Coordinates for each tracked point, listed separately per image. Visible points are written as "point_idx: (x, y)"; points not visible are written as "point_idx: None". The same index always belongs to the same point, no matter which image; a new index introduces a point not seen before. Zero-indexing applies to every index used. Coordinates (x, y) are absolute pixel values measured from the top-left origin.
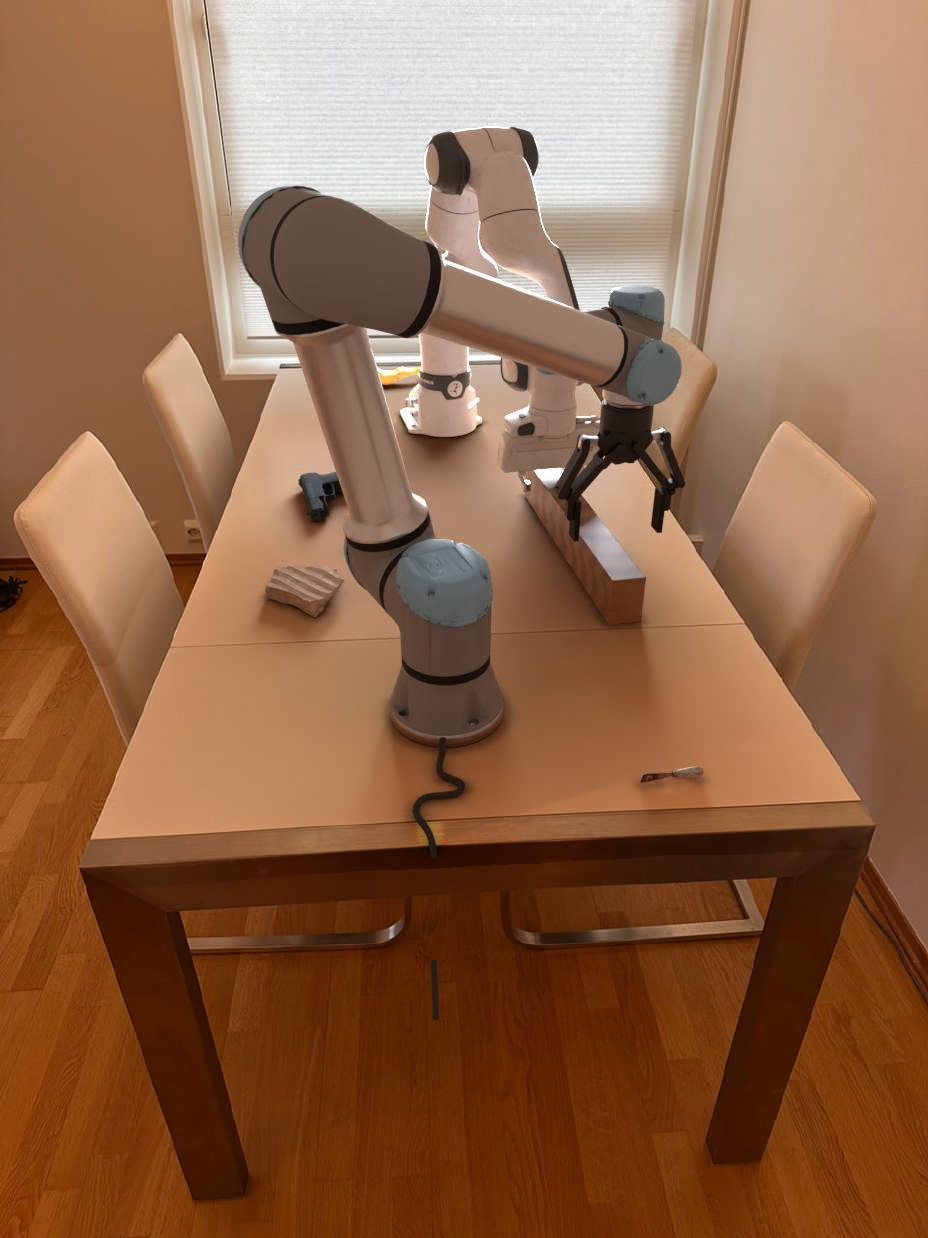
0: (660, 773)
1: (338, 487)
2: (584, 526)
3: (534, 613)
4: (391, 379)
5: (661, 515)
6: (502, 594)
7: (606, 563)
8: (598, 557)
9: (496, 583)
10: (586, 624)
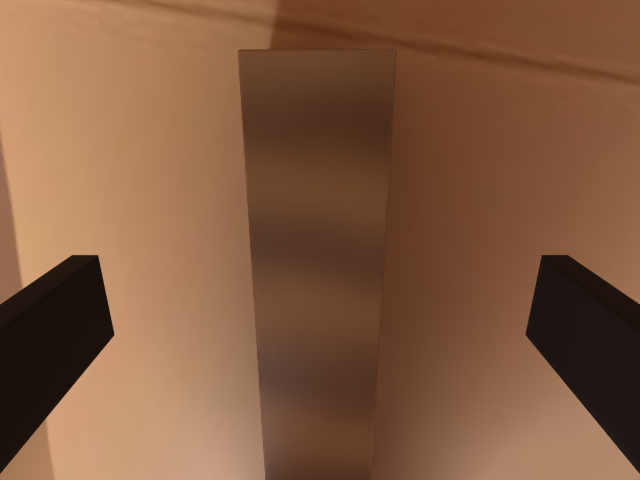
0: None
1: None
2: (337, 462)
3: (547, 174)
4: None
5: (14, 306)
6: None
7: (363, 204)
8: (375, 256)
9: None
10: (431, 82)
